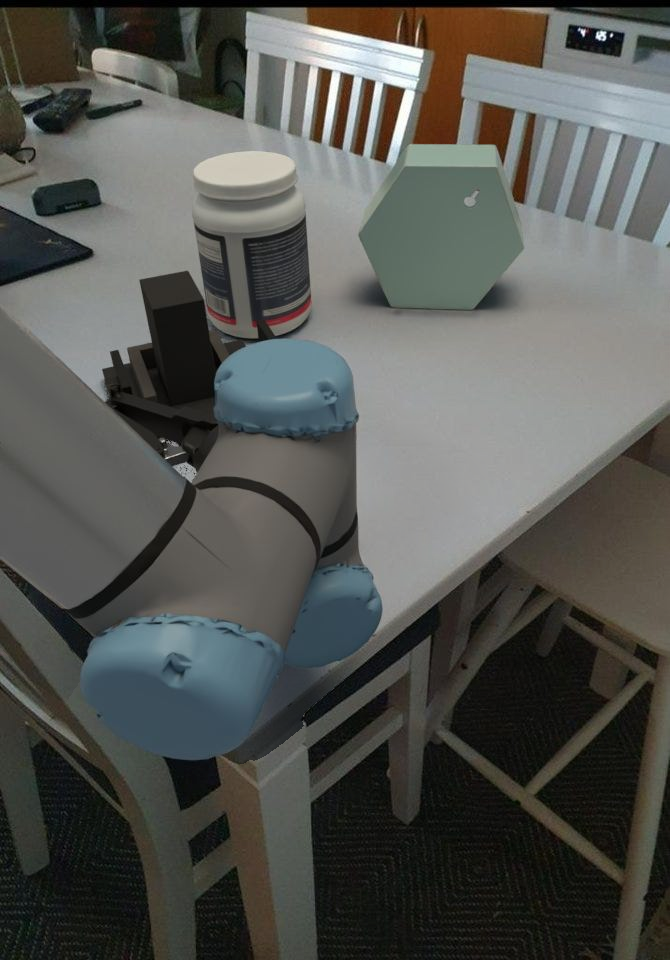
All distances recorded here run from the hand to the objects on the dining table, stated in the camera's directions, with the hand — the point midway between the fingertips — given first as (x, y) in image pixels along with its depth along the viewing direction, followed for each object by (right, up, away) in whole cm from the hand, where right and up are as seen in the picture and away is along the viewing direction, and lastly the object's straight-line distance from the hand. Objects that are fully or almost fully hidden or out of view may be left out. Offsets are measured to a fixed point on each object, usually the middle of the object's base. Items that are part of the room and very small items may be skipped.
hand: (190, 347), depth 75 cm
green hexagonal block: (+26, +11, +29) cm, 41 cm away
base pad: (-2, -3, +12) cm, 13 cm away
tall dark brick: (-2, -2, +11) cm, 12 cm away
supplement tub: (+4, +8, +25) cm, 27 cm away
